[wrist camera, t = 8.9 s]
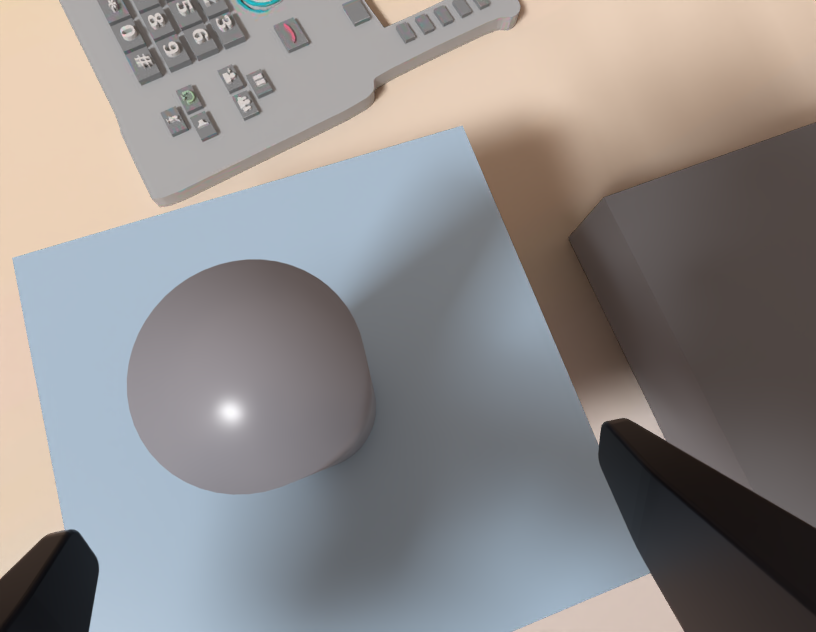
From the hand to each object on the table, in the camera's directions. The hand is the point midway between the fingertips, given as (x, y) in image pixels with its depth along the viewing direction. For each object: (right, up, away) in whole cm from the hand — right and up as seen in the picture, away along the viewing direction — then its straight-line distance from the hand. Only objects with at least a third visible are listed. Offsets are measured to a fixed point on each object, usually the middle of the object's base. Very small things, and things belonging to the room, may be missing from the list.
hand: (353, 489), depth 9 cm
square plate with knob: (-1, 0, +5) cm, 5 cm away
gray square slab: (+18, +2, +14) cm, 23 cm away
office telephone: (-7, +22, +19) cm, 30 cm away
